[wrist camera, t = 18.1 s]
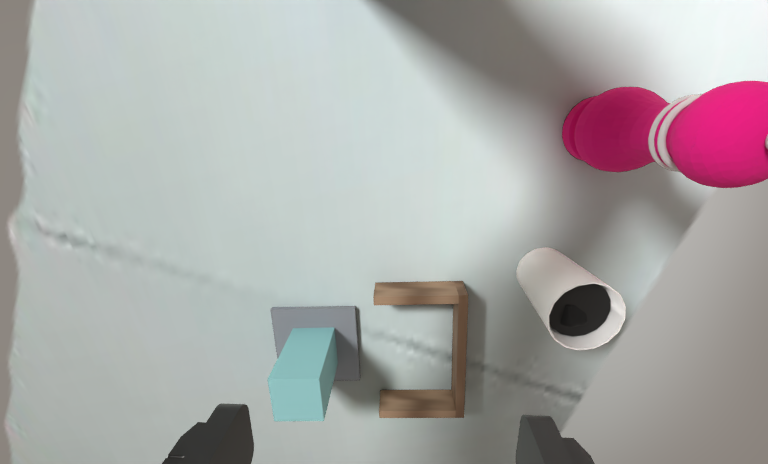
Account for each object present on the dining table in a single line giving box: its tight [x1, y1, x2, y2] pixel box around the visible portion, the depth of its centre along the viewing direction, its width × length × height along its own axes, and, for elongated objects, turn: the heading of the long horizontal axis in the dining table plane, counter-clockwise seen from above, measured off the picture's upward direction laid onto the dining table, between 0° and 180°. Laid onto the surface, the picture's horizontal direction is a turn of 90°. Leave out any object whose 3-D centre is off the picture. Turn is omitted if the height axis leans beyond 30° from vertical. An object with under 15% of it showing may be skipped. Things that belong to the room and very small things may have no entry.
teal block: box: [268, 327, 338, 421], centre depth 40 cm, size 5×5×9 cm
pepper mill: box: [562, 81, 768, 188], centre depth 27 cm, size 7×7×20 cm
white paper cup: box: [516, 247, 626, 350], centre depth 36 cm, size 7×7×10 cm
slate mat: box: [271, 306, 360, 380], centre depth 45 cm, size 10×10×1 cm
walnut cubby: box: [374, 281, 468, 418], centre depth 43 cm, size 10×16×4 cm, turn 2°
